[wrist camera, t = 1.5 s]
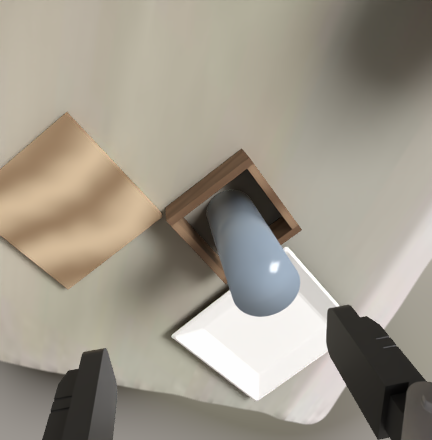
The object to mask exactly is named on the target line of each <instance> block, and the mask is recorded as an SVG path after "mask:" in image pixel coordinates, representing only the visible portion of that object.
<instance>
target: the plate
mask: <svg viewBox="0 0 432 440" xmlns="http://www.w3.org/2000/svg"><path fill="white" fill-rule="evenodd" d="M283 250H284V251H285V253H286V254H287V256H288V257H289V259H290V260H291V262H292V264H293V265H294V267H295V268H296V270H297V271H298V274H299V276H300V289H299V292H298V294H297V296H296V298H295V299H294V301H293V302H292V303H291V304H290V305H289V306H288V307H287V308H285V309H284V310H282V311H281V312H279V313H276V314H274V315H270V316H265V317H256V316H251V315H248V314H246V313H244V312H242V311H241V310H240V309H238V307H237V306H236V305H235V303H234V301H233V298H232V295H231V292H230V290H228V291H227V292H226V293H224V294H223V295H222V296H221V297H219V298H218V299H217V300H215V301H214V302H213V303H212V304H210V305H209V306H208V307H206V308H205V309H204V310H203V311H201V312H200V313H199V314H198V315H196V316H195V317H194V318H192V319H191V320H190V321H189V322H187V323H186V324H185V325H183V326H182V327H181V328H180V329H178V330H177V331H176V332H174V333H173V334H172V338H173V339H174V340H176V341H177V342H178V343H180V344H181V345H182V346H184V347H185V348H186V349H188V350H189V351H190V352H191V353H193V354H194V355H195V356H197V357H198V358H199V359H201V360H202V361H203V362H205V363H206V364H207V365H208V366H210V367H211V368H212V369H214V370H215V371H216V372H218V373H219V374H220V375H221V376H223V377H224V378H225V379H227V380H228V381H229V382H231V383H232V384H233V385H235V386H236V387H237V388H238V389H240V390H241V391H242V392H244V393H245V394H246V395H248V396H249V397H250V398H252V399H253V400H254V401H258V400H260V399H261V398H262V397H264V396H265V395H267V394H268V393H269V392H271V391H272V390H274V389H275V388H277V387H278V386H279V385H281V384H282V383H284V382H285V381H287V380H288V379H289V378H291V377H292V376H294V375H295V374H297V373H298V372H299V371H301V370H302V369H304V368H305V367H306V366H308V365H309V364H311V363H312V362H314V361H315V360H316V359H318V358H319V357H321V356H322V355H324V354H325V353H326V352H328V349H327V344H326V329H327V311H328V309H329V308H333V307H338V306H339V305H338V303H337V302H336V301H335V300H334V299H333V298H332V297H331V296H330V294H329V293H328V292H327V291H326V290H325V289H324V288H323V286H322V285H321V284H320V283H319V282H318V281H317V280H316V278H315V277H314V276H313V275H312V274H311V273H310V272H309V271H308V269H307V268H306V267H305V266H304V265H303V264H302V263H301V261H300V260H299V259H298V258H297V257H296V256H295V255H294V253H293V252H292V251H291V250H290V249H289V248H288V247H284V248H283Z"/></svg>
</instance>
